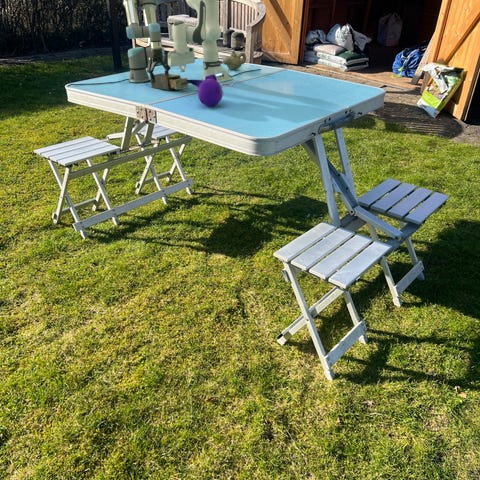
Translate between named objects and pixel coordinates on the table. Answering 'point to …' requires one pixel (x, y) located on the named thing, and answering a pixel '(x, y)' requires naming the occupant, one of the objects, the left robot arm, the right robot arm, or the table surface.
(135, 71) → the left robot arm
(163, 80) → the brown wooden slab
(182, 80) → the drawer
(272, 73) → the table surface
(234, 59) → the teapot
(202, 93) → the toy
